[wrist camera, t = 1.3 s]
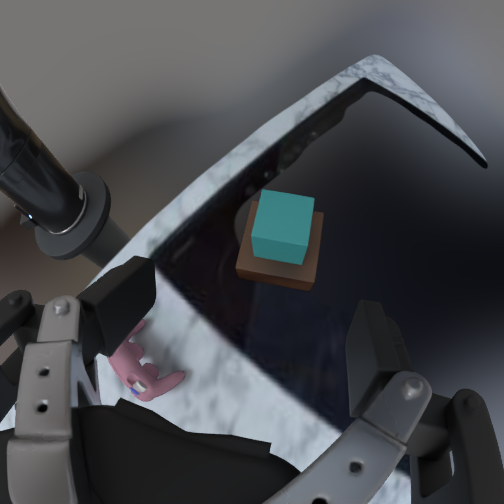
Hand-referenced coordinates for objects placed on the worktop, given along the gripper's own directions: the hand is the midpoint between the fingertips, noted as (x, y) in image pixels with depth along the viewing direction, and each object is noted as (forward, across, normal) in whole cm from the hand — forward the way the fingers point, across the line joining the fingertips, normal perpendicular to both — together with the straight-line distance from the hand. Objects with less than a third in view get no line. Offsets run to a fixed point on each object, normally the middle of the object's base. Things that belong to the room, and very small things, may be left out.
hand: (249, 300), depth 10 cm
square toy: (+22, 0, +6) cm, 23 cm away
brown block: (+25, 0, +9) cm, 27 cm away
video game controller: (+13, +13, +21) cm, 28 cm away
